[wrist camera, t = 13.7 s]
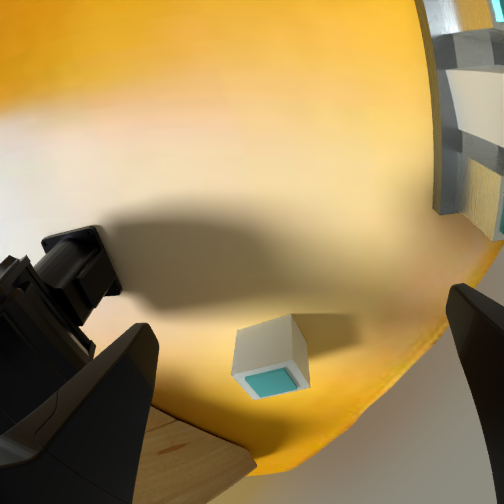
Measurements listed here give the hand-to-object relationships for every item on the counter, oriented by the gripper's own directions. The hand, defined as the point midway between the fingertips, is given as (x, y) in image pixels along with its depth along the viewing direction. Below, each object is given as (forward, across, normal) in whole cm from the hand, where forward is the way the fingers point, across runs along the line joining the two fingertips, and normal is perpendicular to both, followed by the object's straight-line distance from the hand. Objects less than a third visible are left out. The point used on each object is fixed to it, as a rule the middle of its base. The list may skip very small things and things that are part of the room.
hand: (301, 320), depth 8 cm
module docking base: (+13, -14, -5) cm, 20 cm away
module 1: (+13, +3, +14) cm, 19 cm away
